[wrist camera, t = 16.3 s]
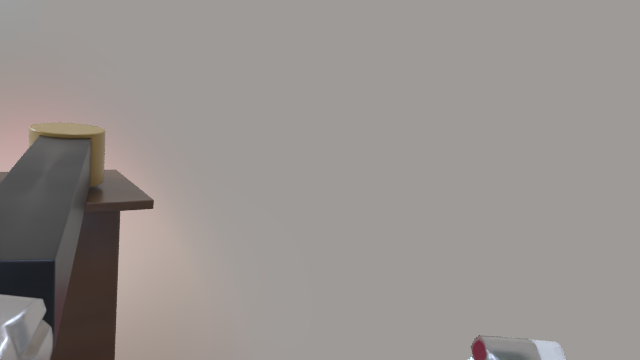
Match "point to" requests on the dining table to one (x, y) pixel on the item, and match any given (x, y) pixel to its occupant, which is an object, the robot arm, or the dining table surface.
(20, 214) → the rod
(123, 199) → the stand
